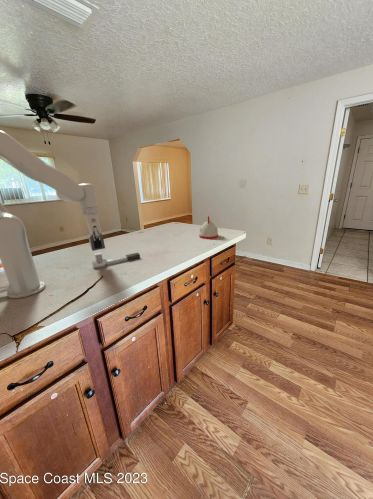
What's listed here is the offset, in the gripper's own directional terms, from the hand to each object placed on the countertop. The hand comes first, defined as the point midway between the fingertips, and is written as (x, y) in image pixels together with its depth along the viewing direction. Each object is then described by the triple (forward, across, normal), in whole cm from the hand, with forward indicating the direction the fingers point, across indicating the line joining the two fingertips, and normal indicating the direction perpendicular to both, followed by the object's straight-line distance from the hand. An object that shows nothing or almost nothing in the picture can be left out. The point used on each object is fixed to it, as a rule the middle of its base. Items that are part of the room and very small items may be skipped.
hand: (97, 246), depth 104 cm
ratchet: (+11, 0, -8) cm, 14 cm away
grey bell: (+13, +12, -78) cm, 80 cm away
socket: (+1, 0, 0) cm, 1 cm away
